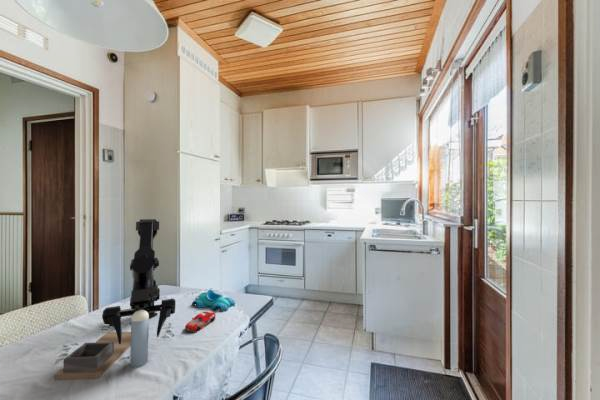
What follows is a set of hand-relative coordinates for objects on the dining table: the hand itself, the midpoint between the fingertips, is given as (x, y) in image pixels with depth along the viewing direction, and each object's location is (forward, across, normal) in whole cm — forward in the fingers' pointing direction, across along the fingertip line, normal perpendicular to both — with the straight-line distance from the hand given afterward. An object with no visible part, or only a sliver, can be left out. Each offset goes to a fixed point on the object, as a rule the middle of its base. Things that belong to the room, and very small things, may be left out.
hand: (139, 340), depth 75 cm
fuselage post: (+4, 0, +6) cm, 7 cm away
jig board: (-2, -10, +12) cm, 16 cm away
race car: (-7, +19, +18) cm, 27 cm away
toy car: (-20, +26, +30) cm, 45 cm away
